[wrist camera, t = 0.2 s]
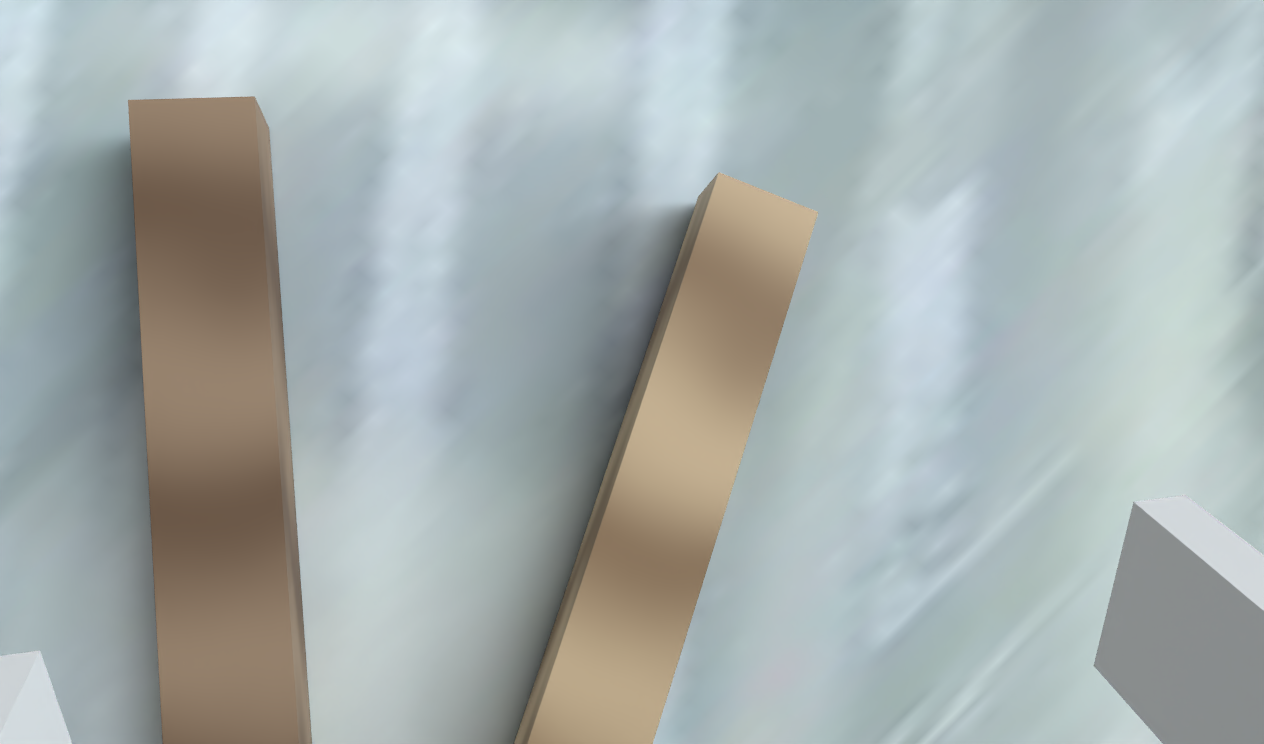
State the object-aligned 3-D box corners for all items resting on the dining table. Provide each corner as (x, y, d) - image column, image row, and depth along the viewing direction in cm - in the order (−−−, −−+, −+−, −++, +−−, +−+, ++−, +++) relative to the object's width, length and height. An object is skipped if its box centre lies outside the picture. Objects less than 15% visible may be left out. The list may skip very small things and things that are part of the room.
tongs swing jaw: (547, 1005, 26) (556, 1050, 24) (435, 975, 25) (435, 1018, 23) (791, 233, 30) (818, 212, 28) (698, 196, 30) (718, 172, 27)
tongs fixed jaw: (514, 1248, 25) (524, 1352, 22) (219, 1324, 24) (186, 1446, 21) (416, 123, 29) (413, 76, 25) (152, 132, 27) (115, 83, 24)
